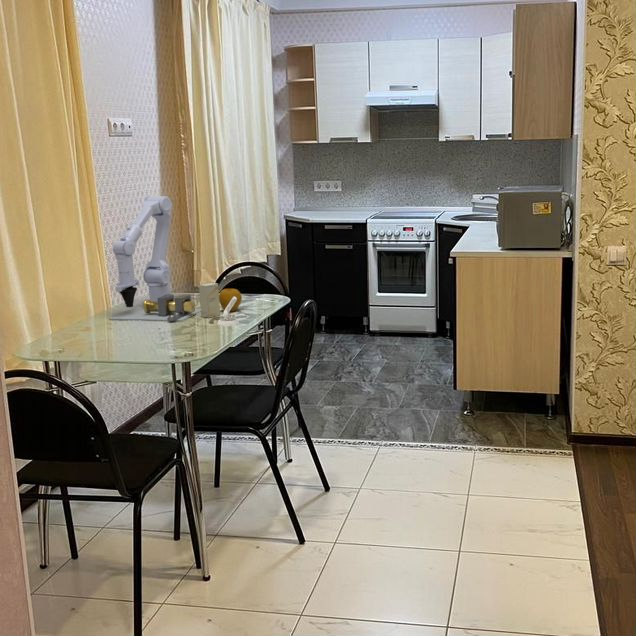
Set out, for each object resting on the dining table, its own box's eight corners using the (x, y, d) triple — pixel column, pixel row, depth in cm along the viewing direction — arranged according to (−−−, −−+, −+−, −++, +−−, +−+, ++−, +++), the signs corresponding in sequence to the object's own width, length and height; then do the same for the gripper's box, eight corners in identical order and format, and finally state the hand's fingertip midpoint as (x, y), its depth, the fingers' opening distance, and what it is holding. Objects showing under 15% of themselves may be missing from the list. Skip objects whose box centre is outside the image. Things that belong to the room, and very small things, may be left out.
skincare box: (209, 318, 305) (206, 285, 303) (200, 317, 308) (198, 285, 305) (221, 315, 310) (218, 283, 307) (212, 314, 313) (210, 282, 310)
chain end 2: (184, 312, 315) (183, 294, 313) (191, 312, 314) (190, 294, 312) (166, 320, 301) (165, 302, 299) (174, 321, 300) (172, 302, 299)
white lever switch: (250, 310, 289) (233, 301, 287) (232, 337, 292) (215, 328, 290) (249, 302, 296) (233, 293, 294) (232, 328, 299) (215, 319, 297)
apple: (245, 308, 320) (243, 286, 318) (237, 313, 312) (236, 290, 310) (224, 308, 322) (222, 286, 320) (216, 313, 314) (214, 290, 312)
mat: (133, 310, 327) (132, 308, 327) (202, 311, 318) (202, 309, 318) (109, 320, 310) (109, 318, 310) (182, 321, 302) (181, 319, 301)
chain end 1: (176, 308, 324) (175, 290, 322) (183, 308, 323) (182, 290, 321) (158, 316, 310) (157, 298, 308) (166, 316, 309) (164, 298, 307)
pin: (150, 311, 318) (149, 298, 316) (196, 312, 312) (195, 298, 311) (144, 314, 313) (142, 300, 312) (190, 315, 307) (189, 301, 306)
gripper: (126, 268, 322) (129, 302, 325) (106, 275, 308) (110, 310, 311) (142, 268, 320) (145, 303, 323) (123, 275, 306) (127, 310, 309)
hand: (129, 306), depth 317 cm, fingers closed
